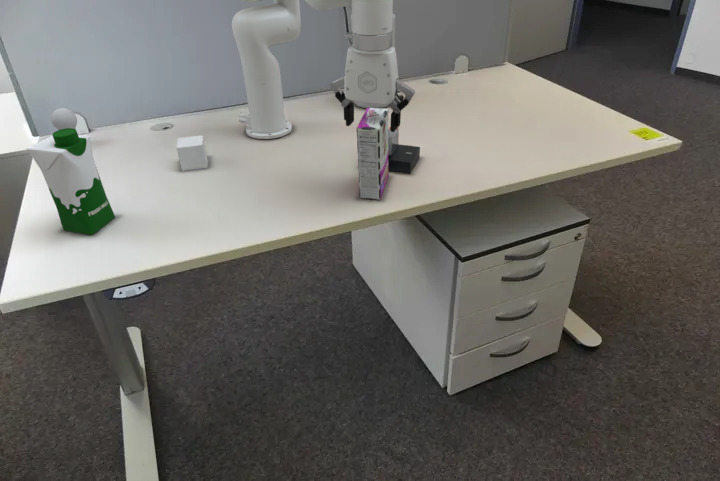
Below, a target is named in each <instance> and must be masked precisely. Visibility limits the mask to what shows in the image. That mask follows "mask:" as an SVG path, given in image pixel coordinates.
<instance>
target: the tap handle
mask: <svg viewBox="0 0 720 481" xmlns="http://www.w3.org/2000/svg"><path fill="white" fill-rule="evenodd" d="M399 128H400V126H399V127H397V129H396V130H395V131H394V132H391V125H390V126H389V127H388V157H392V155H393V154H394V152H395V151H396V149H397V148H398V144H399V135H400V133H399V130H400V129H399Z"/></svg>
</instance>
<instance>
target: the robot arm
mask: <svg viewBox="0 0 720 481" xmlns="http://www.w3.org/2000/svg"><path fill="white" fill-rule="evenodd" d="M240 1H241V2H245V3H253V2H259V1H262V0H240ZM304 1H305V3H306V4H307V5H308V6H310V7H311V8H312V9H314V10H317V11H329V10H334V9H338V8H343V7H351V15H352V31H351V30H350V31H349V32H345V34H344V40H346V41H349V42H350V45H351V46H349V47H348V48H347V52H346V59H345V67H344V68H345V69H344V76H341V77H340V78H338V79H336V80H333V81H332V82H331V83H330V88H331V90H332V92H333V94H334V97H335V98H336V99H337V100H338V102H339V103H340V105H341V107H343V120H344V121H345V126H346V127H350V126H352V125H353V123H354V121H355V103H354V101H355V102H363V103H372V104H381V105H387V104H388V105H389V106H388V107H390V109H391V111H392V112H391V114H390V126H391V132H394V131H395V130H396V129H397V127H399V128H400V126H401V118H402V115H401V114H402V110H404V109H405V108H406V107H407V106H408V105H409V104H410V102H411V101H412V99H413V97H414V95H415V93H416V90H415V89H414V88H412V87H411V86H409V85H407V84H406V83H405V82H403V81H401V80H400V79H399V67H398V58H397V53H396V52H397V51H396V48H394V47H392V20H393V14H394V11H393V10H394V9H393V8H394V0H304ZM301 17H302V16H301V7H300V0H273V3H271V4H265V5H264V4H263V5H257V6H251V7H247V8H244V9H242V10H239V11H237V12H236V13H235V14H234V16H233V17H232V20H231V30H232V35H233V38H234V40H235V43H236V47H237V51H238V54H239V57H240V63H241V69H242V75H243V81H244V87H245V88H244V89H245V94H246V95H245V96H246V102H247V106H248V113H247V112H239V113H238V122H239V123H242V124H243V123H245V124H246V128H245V133H246V135H247V136H249V137H250V138H253V139H256V140H273V139H278V138H282V137H284V136H287V135H289V133H291V132H292V130H293V124H292V123H291V122H290V121H288V120H287V119H286V113H285V112H286V111H285V103H284V94H283V86H282V76H281V67H280V64H279V61H278V60H277V58H276V57H275V55H274V54H273V53H272V52H271V51H270V48H271V47H275V46H279V45H284V44H287V43H292V42H294V41H296V40H297V39H298V38H299V36H300V35H301V34H300V33H301V29H302V20H301ZM341 86H343V87H344V88H343V90H344V91H343V90H342V88H341ZM399 92H401V93H403V94H404V98H403V99H402V100H400V99H399V97H398V95H399Z"/></svg>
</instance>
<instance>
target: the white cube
mask: <svg viewBox="0 0 720 481" xmlns="http://www.w3.org/2000/svg"><path fill="white" fill-rule="evenodd" d="M176 141H177V142H176V147H175V148H176V152H177V157H178V160H179V165H180V169H181V171H182V172H186V171H192V170H201V169H208V152H207V149H206V144H205V140H204V135H201V134H200V135H194V136H184V137H177V139H176Z"/></svg>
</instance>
